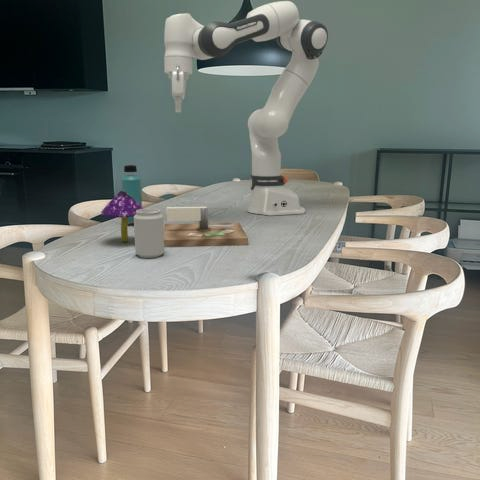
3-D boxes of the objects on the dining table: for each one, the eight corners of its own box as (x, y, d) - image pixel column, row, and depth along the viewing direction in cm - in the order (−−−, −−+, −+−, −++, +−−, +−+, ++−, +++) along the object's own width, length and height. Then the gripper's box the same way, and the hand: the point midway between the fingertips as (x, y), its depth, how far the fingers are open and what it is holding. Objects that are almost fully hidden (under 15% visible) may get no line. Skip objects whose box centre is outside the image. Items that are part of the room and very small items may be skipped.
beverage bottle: (146, 223, 166) (144, 164, 161) (136, 227, 160) (133, 166, 155) (130, 222, 168) (127, 164, 163) (119, 225, 162) (116, 165, 157)
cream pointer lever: (232, 227, 149) (232, 206, 147) (233, 229, 146) (233, 207, 145) (167, 228, 147) (166, 207, 145) (167, 230, 144) (166, 208, 142)
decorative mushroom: (125, 249, 131) (122, 195, 128) (93, 243, 138) (89, 191, 134) (156, 240, 142) (154, 189, 138) (125, 235, 148) (122, 186, 144)
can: (137, 251, 129) (135, 207, 127) (165, 251, 130) (164, 207, 127) (133, 259, 122) (131, 212, 119) (163, 258, 123) (161, 212, 120)
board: (239, 228, 158) (239, 221, 158) (248, 244, 137) (248, 237, 136) (165, 230, 155) (164, 223, 155) (162, 247, 134) (162, 239, 134)
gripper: (188, 64, 144) (188, 112, 147) (188, 71, 164) (188, 113, 167) (167, 63, 143) (167, 111, 146) (169, 70, 163) (169, 113, 166)
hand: (178, 112), depth 157 cm, fingers open, 8 cm apart
